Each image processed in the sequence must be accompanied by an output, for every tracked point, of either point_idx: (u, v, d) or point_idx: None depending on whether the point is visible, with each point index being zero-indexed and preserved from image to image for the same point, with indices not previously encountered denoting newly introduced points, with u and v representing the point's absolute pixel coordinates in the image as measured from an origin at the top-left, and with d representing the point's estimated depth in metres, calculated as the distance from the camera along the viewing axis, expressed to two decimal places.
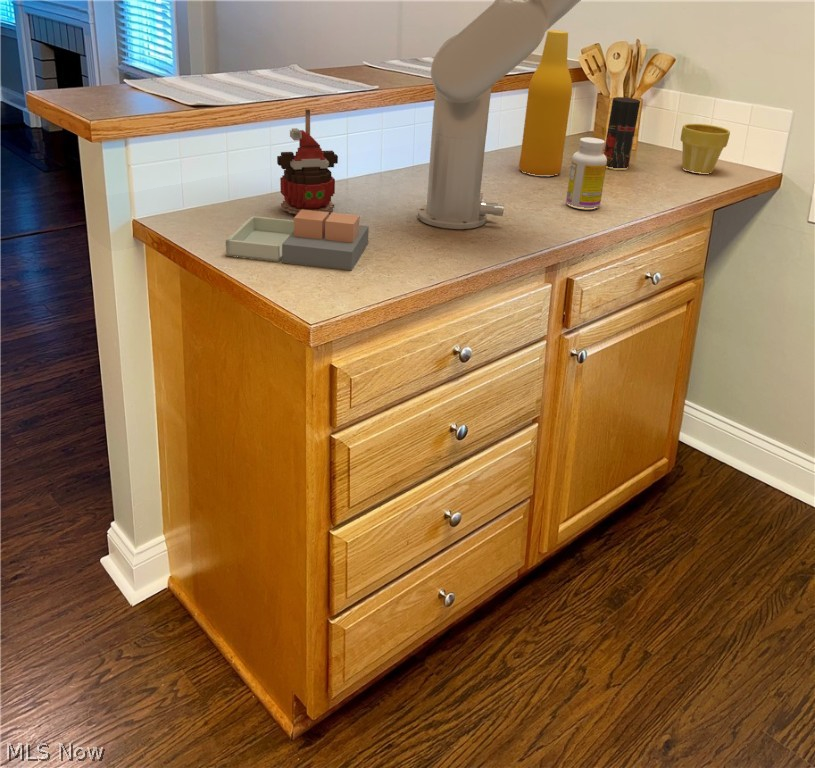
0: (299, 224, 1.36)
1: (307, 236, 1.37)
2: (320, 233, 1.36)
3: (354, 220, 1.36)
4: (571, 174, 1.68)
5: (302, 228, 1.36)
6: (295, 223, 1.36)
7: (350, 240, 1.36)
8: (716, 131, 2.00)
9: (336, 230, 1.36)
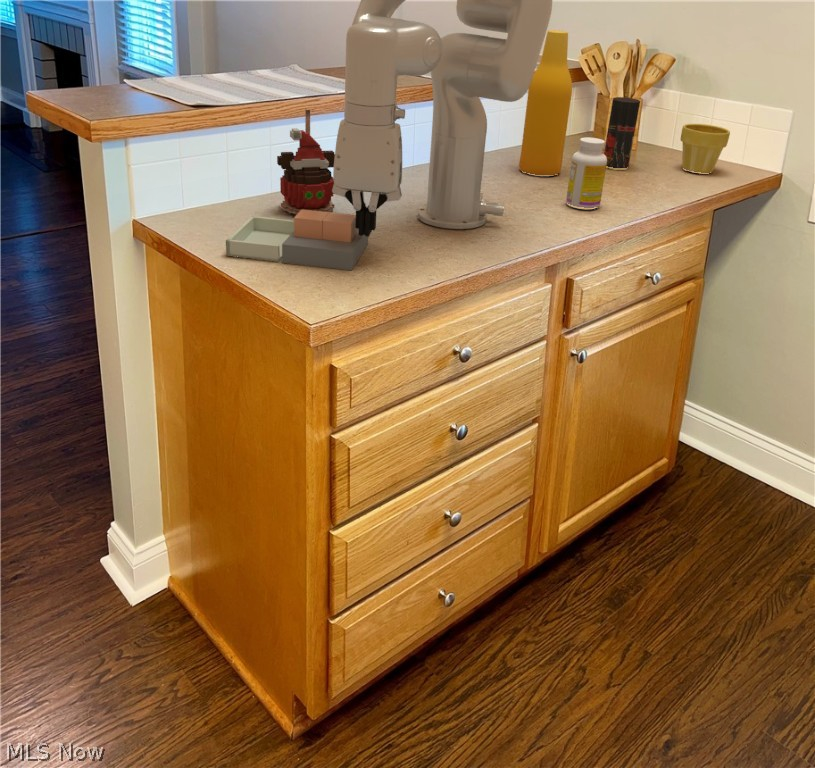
0: (299, 224, 1.36)
1: (307, 236, 1.37)
2: (320, 233, 1.36)
3: (351, 220, 1.36)
4: (571, 174, 1.68)
5: (302, 228, 1.36)
6: (295, 223, 1.36)
7: (347, 240, 1.36)
8: (716, 131, 2.00)
9: (333, 229, 1.36)
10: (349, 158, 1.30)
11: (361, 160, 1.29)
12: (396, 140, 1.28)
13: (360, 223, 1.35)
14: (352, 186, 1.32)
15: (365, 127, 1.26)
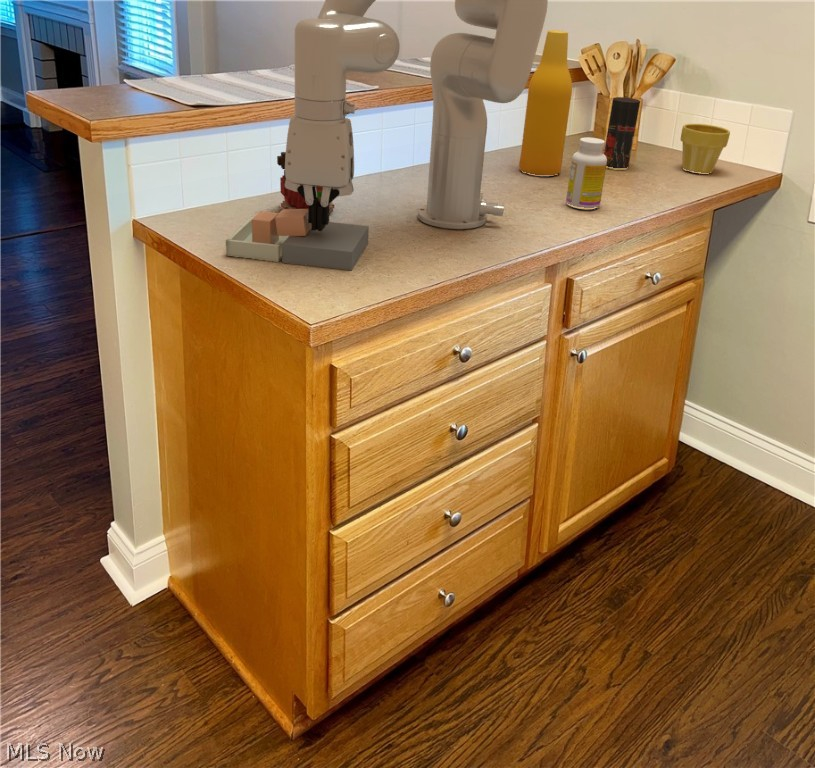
0: (258, 242, 1.39)
1: (269, 235, 1.38)
2: (264, 222, 1.37)
3: (304, 213, 1.37)
4: (571, 174, 1.68)
5: (261, 239, 1.39)
6: None
7: (302, 233, 1.37)
8: (716, 131, 2.00)
9: (287, 225, 1.36)
10: (300, 153, 1.30)
11: (312, 155, 1.30)
12: (346, 135, 1.29)
13: (312, 218, 1.36)
14: (303, 181, 1.33)
15: (314, 122, 1.27)
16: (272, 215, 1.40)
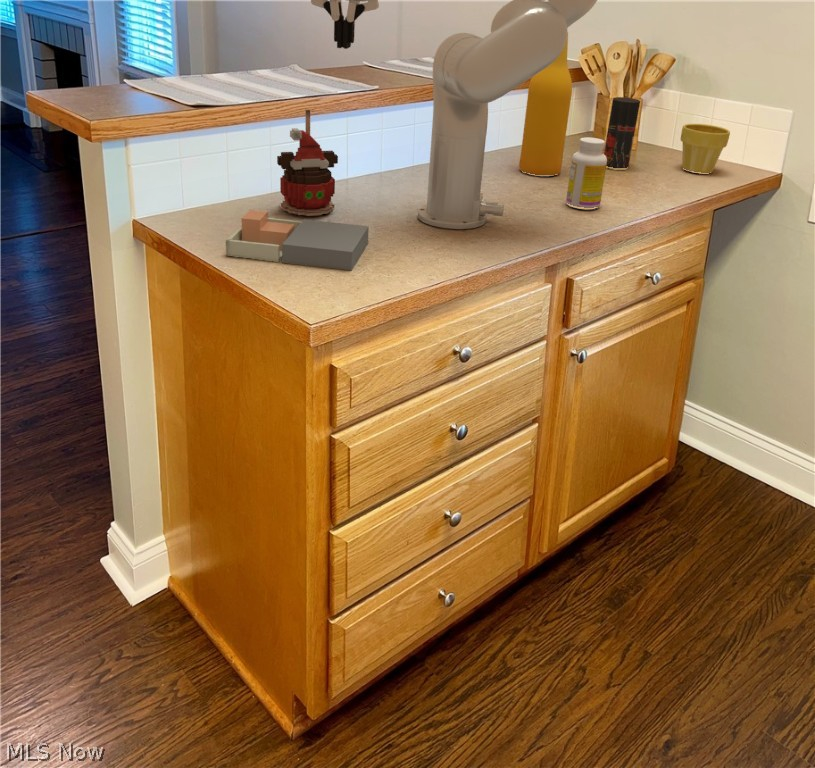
0: (248, 240, 1.39)
1: None
2: (254, 221, 1.37)
3: (288, 229, 1.39)
4: (571, 174, 1.68)
5: (251, 238, 1.39)
6: None
7: None
8: (716, 131, 2.00)
9: (270, 239, 1.38)
10: None
11: None
12: None
13: (338, 34, 1.38)
14: None
15: None
16: (261, 213, 1.40)
